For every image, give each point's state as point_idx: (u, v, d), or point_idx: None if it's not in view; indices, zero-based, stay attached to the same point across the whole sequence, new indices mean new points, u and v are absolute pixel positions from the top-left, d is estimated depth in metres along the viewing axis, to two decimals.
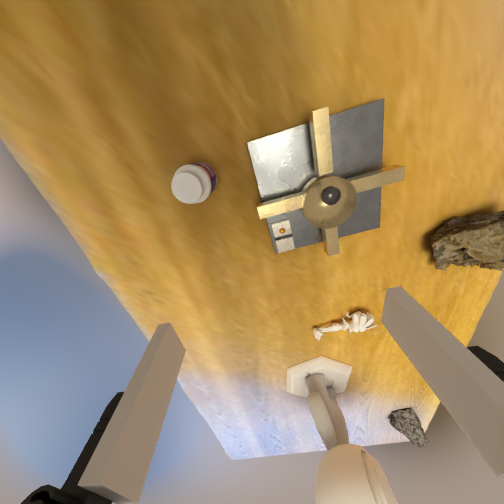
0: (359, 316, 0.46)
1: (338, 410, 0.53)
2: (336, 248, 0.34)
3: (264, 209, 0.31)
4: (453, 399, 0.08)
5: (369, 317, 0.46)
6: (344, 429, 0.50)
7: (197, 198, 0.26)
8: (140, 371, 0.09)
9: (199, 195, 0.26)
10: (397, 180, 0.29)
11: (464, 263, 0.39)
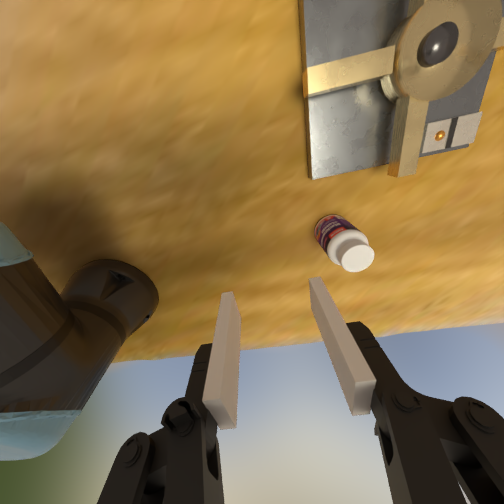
0: None
1: None
2: None
3: (404, 166, 0.23)
4: (335, 362, 0.10)
5: None
6: None
7: (371, 250, 0.24)
8: (221, 326, 0.11)
9: (369, 248, 0.23)
10: None
11: None
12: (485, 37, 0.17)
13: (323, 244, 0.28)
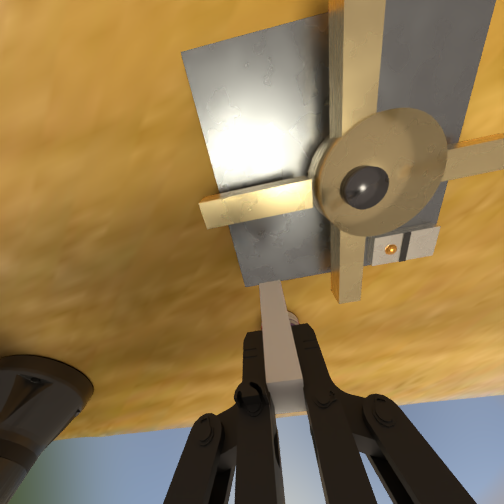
0: None
1: None
2: None
3: (345, 294, 0.18)
4: None
5: None
6: None
7: None
8: (266, 314, 0.11)
9: None
10: None
11: None
12: (428, 174, 0.13)
13: None
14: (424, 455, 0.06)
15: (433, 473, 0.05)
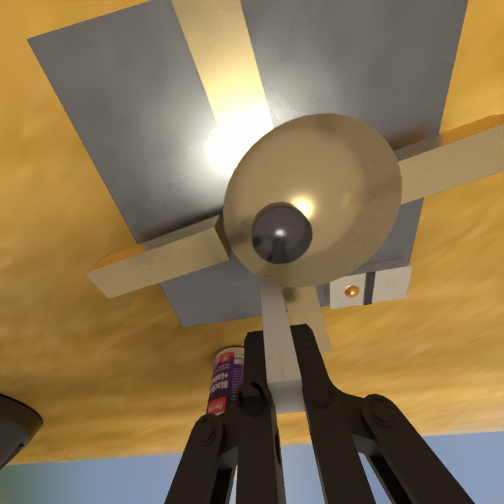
0: None
1: None
2: None
3: None
4: None
5: None
6: None
7: None
8: (267, 314, 0.11)
9: None
10: None
11: None
12: (377, 200, 0.09)
13: None
14: (422, 455, 0.06)
15: (431, 473, 0.05)
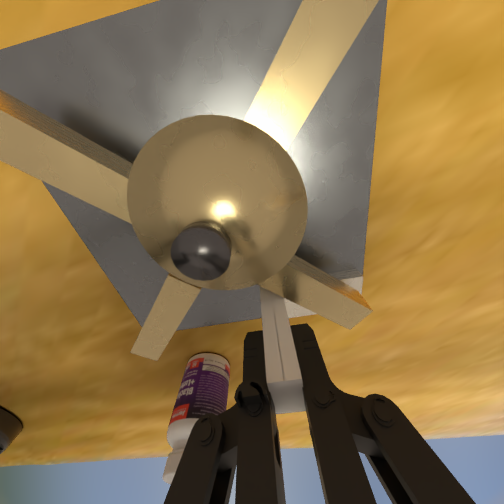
0: None
1: None
2: None
3: (344, 318, 0.13)
4: None
5: None
6: None
7: None
8: (267, 314, 0.11)
9: None
10: None
11: None
12: (257, 162, 0.08)
13: None
14: (423, 454, 0.06)
15: (432, 473, 0.05)
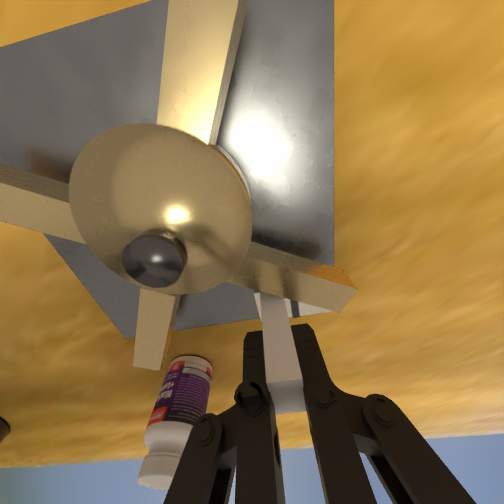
0: None
1: None
2: None
3: (329, 301, 0.12)
4: None
5: None
6: None
7: None
8: (267, 314, 0.11)
9: (169, 477, 0.16)
10: None
11: None
12: (179, 161, 0.08)
13: None
14: (423, 455, 0.06)
15: (433, 473, 0.05)
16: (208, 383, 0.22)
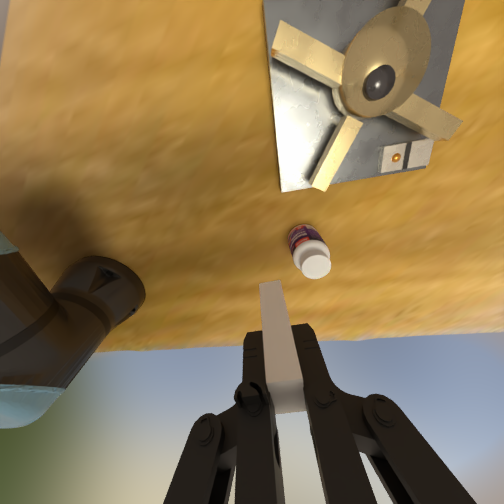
0: None
1: None
2: None
3: (445, 130, 0.22)
4: None
5: None
6: None
7: (328, 260, 0.26)
8: (266, 314, 0.11)
9: (326, 258, 0.26)
10: (288, 27, 0.18)
11: None
12: (409, 26, 0.18)
13: (291, 251, 0.31)
14: (424, 455, 0.06)
15: (433, 473, 0.05)
16: None
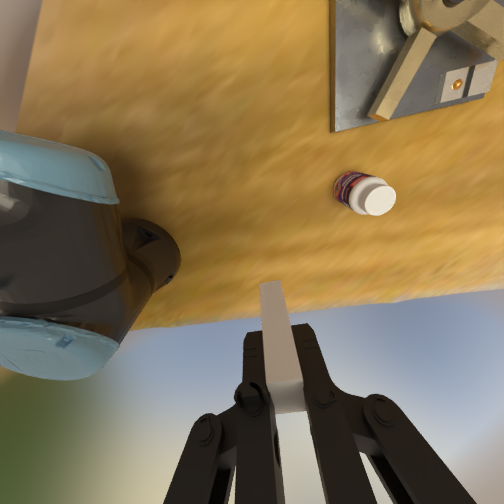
0: None
1: None
2: None
3: None
4: None
5: None
6: None
7: (393, 192, 0.25)
8: (266, 314, 0.11)
9: (391, 189, 0.25)
10: None
11: None
12: None
13: (344, 195, 0.30)
14: (424, 455, 0.06)
15: (433, 473, 0.05)
16: None
